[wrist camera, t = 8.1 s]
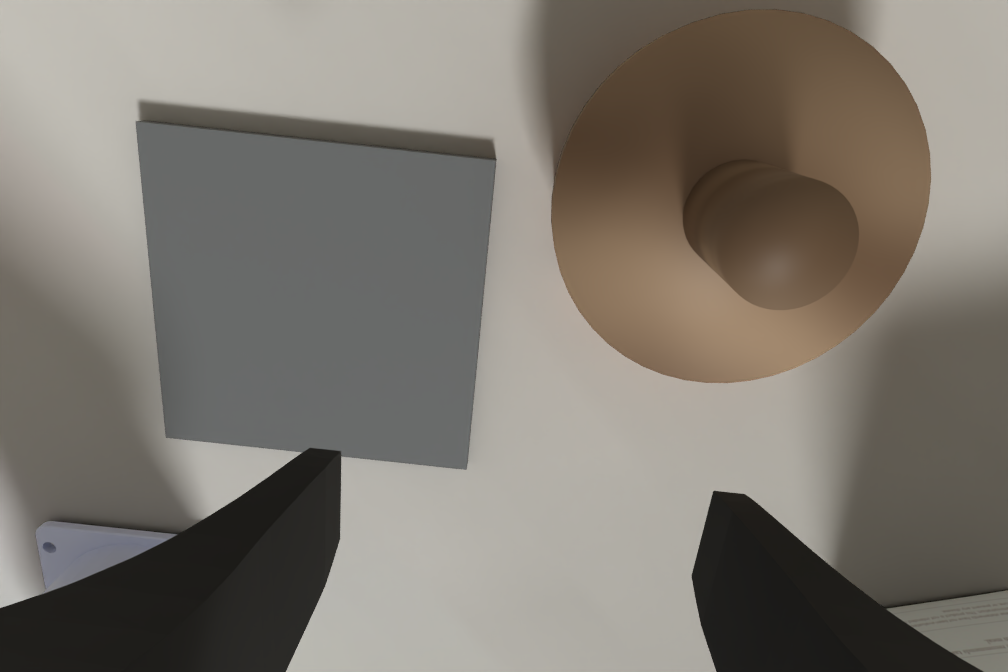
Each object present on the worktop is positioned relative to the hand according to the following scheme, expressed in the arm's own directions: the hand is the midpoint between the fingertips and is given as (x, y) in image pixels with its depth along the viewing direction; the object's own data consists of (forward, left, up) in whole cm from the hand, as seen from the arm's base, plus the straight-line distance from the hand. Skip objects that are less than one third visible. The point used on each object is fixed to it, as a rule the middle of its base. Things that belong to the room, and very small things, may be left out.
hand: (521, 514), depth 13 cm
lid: (+5, -5, -7) cm, 10 cm away
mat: (0, +7, -10) cm, 13 cm away
